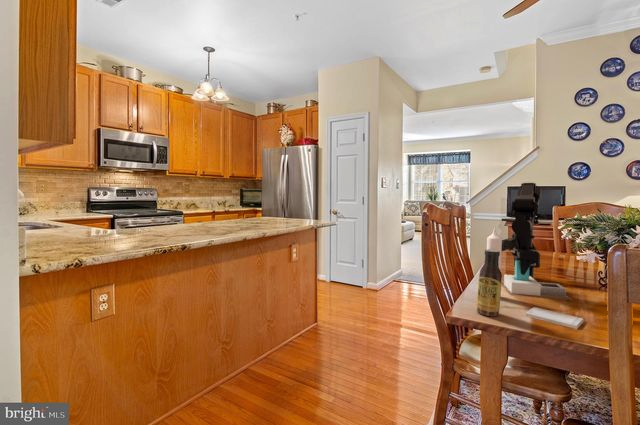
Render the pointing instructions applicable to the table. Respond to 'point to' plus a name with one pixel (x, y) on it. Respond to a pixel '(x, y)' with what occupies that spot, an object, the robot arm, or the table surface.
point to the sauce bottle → (489, 285)
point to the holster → (552, 289)
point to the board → (542, 295)
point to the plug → (518, 273)
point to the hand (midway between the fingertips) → (521, 273)
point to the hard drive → (555, 317)
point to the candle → (495, 244)
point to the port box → (522, 285)
